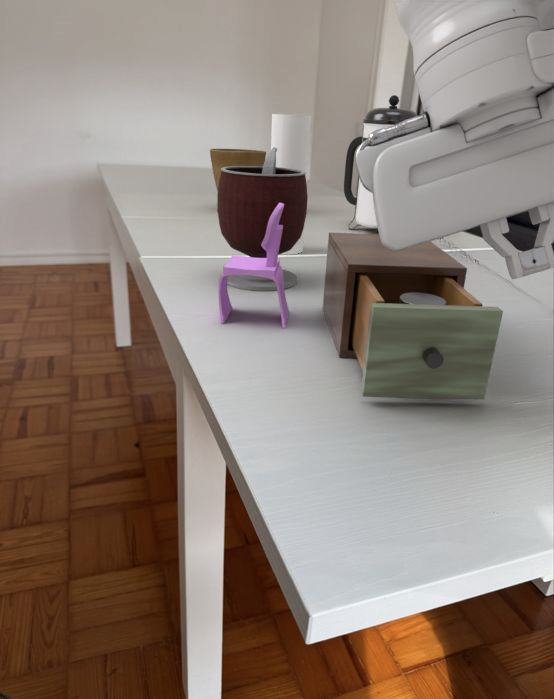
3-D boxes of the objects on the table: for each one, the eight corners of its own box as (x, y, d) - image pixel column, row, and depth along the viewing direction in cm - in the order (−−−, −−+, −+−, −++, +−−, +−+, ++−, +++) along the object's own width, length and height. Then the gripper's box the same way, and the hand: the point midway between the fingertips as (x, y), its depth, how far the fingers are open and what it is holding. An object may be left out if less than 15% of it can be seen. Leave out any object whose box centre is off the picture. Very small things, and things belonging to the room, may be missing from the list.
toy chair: (227, 305, 77) (228, 195, 71) (289, 310, 76) (296, 199, 70) (215, 325, 69) (215, 204, 63) (284, 331, 69) (291, 209, 63)
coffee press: (408, 227, 140) (426, 98, 128) (411, 239, 125) (431, 95, 114) (340, 222, 142) (351, 95, 131) (335, 233, 128) (348, 91, 116)
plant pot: (275, 213, 151) (278, 151, 145) (235, 218, 141) (236, 152, 135) (238, 205, 160) (239, 147, 154) (198, 209, 150) (198, 147, 144)
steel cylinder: (427, 356, 58) (438, 293, 55) (440, 374, 54) (452, 307, 51) (386, 355, 58) (395, 291, 55) (396, 373, 54) (406, 305, 51)
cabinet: (450, 360, 63) (467, 268, 58) (339, 357, 62) (348, 264, 58) (412, 311, 78) (423, 235, 74) (322, 309, 77) (328, 232, 73)
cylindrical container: (276, 244, 114) (282, 114, 104) (308, 249, 111) (317, 115, 102) (260, 251, 108) (265, 113, 98) (293, 256, 105) (301, 115, 96)
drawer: (488, 406, 51) (509, 315, 47) (365, 403, 50) (376, 311, 47) (434, 338, 66) (447, 265, 63) (339, 335, 66) (346, 262, 62)
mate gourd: (295, 296, 82) (303, 155, 74) (206, 287, 84) (205, 149, 76) (308, 270, 96) (317, 149, 88) (231, 263, 98) (233, 144, 91)
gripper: (348, 127, 39) (402, 314, 40) (651, 22, 36) (702, 227, 37) (348, 150, 45) (394, 311, 46) (606, 62, 42) (650, 236, 43)
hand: (533, 273), depth 41 cm, fingers closed
